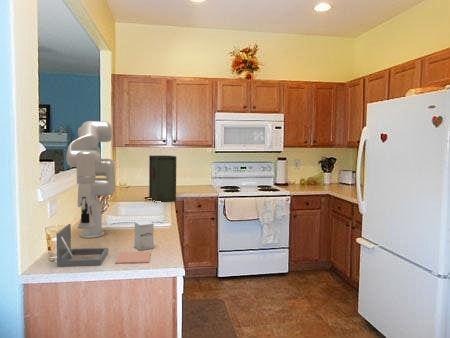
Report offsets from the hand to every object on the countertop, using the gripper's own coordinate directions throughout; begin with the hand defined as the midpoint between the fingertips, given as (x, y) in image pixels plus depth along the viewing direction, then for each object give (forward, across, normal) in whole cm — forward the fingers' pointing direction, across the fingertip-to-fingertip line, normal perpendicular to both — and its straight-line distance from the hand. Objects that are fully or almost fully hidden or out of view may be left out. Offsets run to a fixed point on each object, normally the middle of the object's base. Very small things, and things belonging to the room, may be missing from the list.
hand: (86, 220), depth 149 cm
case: (+17, 0, -1) cm, 17 cm away
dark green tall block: (+18, -151, +36) cm, 156 cm away
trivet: (+17, +1, +20) cm, 26 cm away
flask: (+3, 0, 0) cm, 3 cm away
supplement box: (+17, -14, +24) cm, 33 cm away
